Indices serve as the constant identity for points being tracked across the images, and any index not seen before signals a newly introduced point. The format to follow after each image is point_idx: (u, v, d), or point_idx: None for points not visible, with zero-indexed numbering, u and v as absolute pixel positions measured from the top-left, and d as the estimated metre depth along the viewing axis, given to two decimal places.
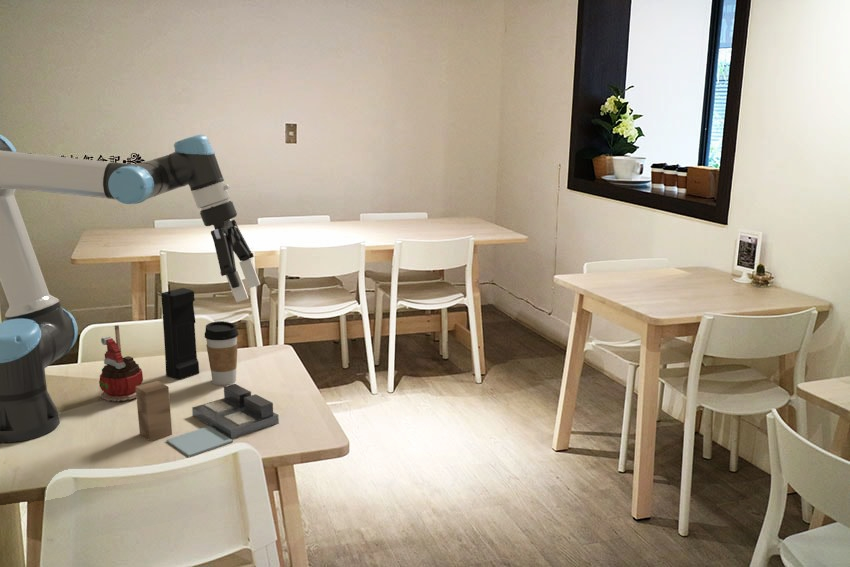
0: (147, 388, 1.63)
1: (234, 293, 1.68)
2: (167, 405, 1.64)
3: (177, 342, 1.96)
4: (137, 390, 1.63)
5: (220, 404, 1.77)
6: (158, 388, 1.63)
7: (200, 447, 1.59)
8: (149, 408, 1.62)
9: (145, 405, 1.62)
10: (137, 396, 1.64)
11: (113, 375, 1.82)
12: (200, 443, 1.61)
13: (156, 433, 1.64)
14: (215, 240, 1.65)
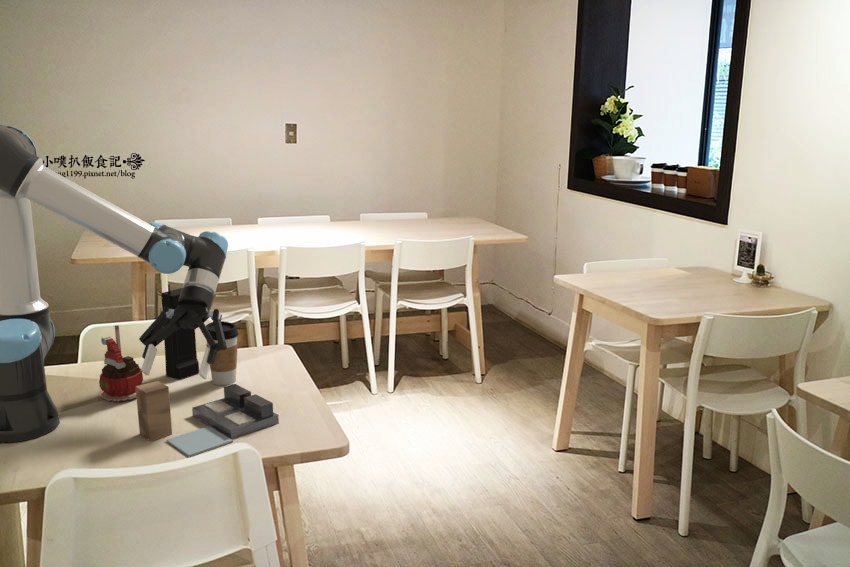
0: (147, 388, 1.63)
1: (204, 366, 1.69)
2: (167, 405, 1.64)
3: (177, 342, 1.96)
4: (137, 390, 1.63)
5: (220, 404, 1.77)
6: (158, 388, 1.63)
7: (200, 447, 1.59)
8: (149, 408, 1.62)
9: (145, 405, 1.62)
10: (137, 396, 1.64)
11: (113, 375, 1.82)
12: (200, 443, 1.61)
13: (156, 433, 1.64)
14: (218, 318, 1.76)
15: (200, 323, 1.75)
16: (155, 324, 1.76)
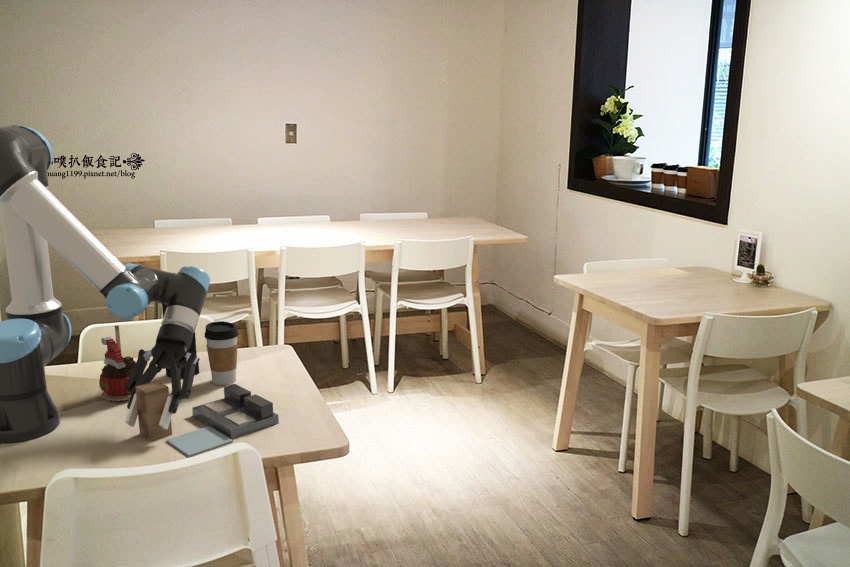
0: (147, 387, 1.63)
1: (165, 416, 1.62)
2: None
3: None
4: (137, 390, 1.63)
5: (220, 404, 1.77)
6: (158, 388, 1.63)
7: (200, 447, 1.59)
8: (149, 408, 1.62)
9: (145, 405, 1.62)
10: (137, 396, 1.64)
11: (113, 375, 1.82)
12: (200, 443, 1.61)
13: (156, 433, 1.64)
14: (192, 363, 1.68)
15: (173, 365, 1.67)
16: (136, 369, 1.68)
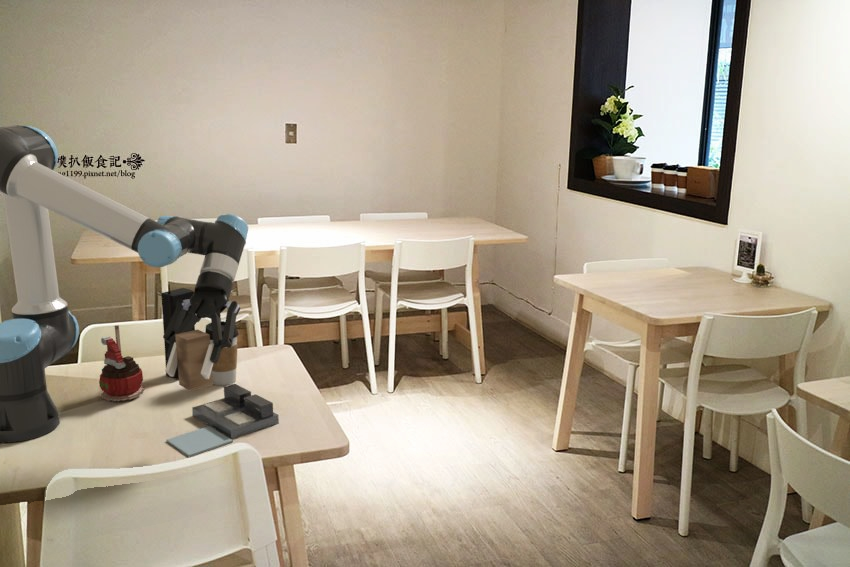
0: (187, 335, 1.56)
1: (207, 365, 1.55)
2: None
3: None
4: (177, 338, 1.57)
5: (220, 404, 1.77)
6: (199, 336, 1.56)
7: (200, 447, 1.59)
8: (190, 356, 1.55)
9: (186, 353, 1.55)
10: (177, 344, 1.57)
11: (113, 375, 1.82)
12: (200, 443, 1.61)
13: (197, 383, 1.57)
14: (233, 311, 1.61)
15: (213, 314, 1.61)
16: (175, 318, 1.62)
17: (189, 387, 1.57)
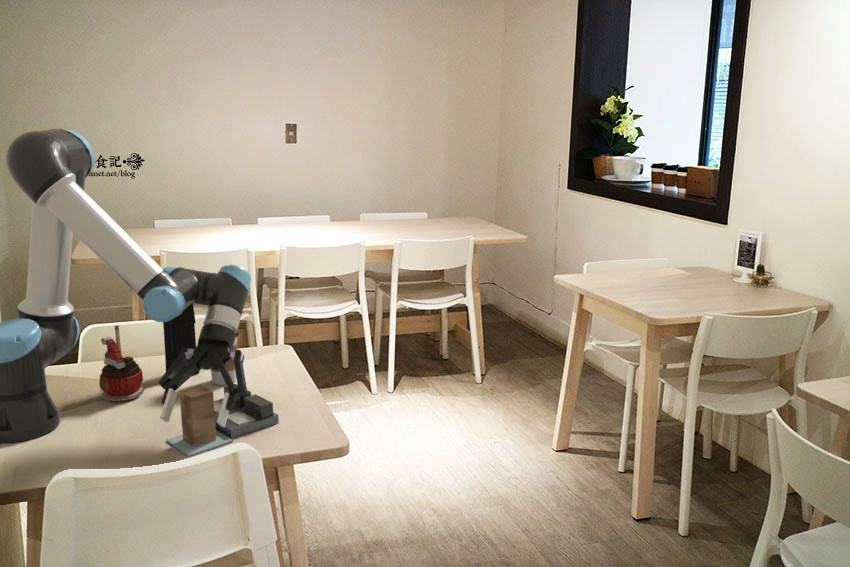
0: (191, 392, 1.59)
1: (223, 413, 1.58)
2: (211, 410, 1.61)
3: (177, 342, 1.96)
4: (181, 395, 1.60)
5: (220, 404, 1.77)
6: (203, 393, 1.59)
7: (200, 447, 1.59)
8: (194, 413, 1.58)
9: (190, 410, 1.58)
10: (181, 401, 1.60)
11: (113, 375, 1.82)
12: None
13: (201, 438, 1.60)
14: (239, 359, 1.65)
15: (221, 364, 1.63)
16: (174, 366, 1.65)
17: (193, 443, 1.60)
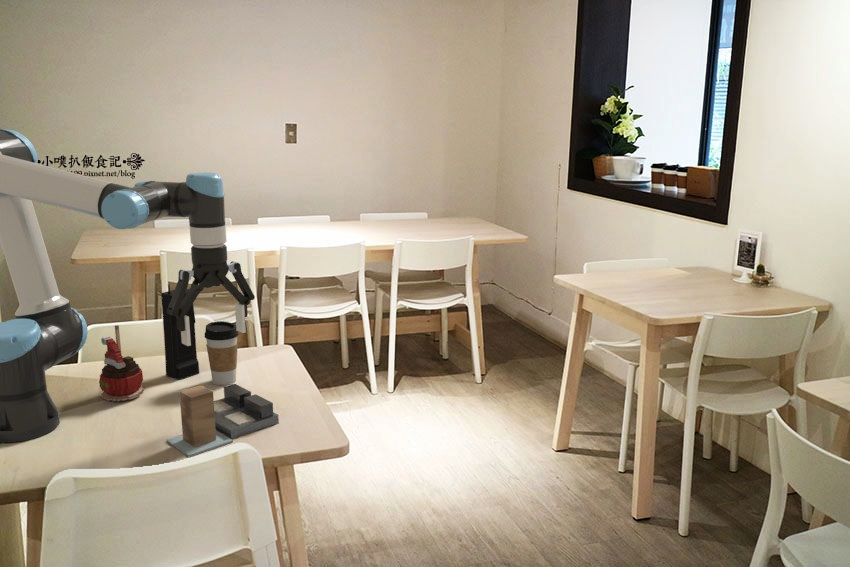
0: (191, 392, 1.59)
1: None
2: (211, 410, 1.61)
3: (177, 342, 1.96)
4: (181, 395, 1.60)
5: (220, 404, 1.77)
6: (203, 393, 1.59)
7: (200, 447, 1.59)
8: (194, 413, 1.58)
9: (190, 410, 1.58)
10: (181, 401, 1.60)
11: (113, 375, 1.82)
12: None
13: (201, 438, 1.60)
14: None
15: (229, 283, 1.70)
16: (183, 294, 1.63)
17: (193, 443, 1.60)
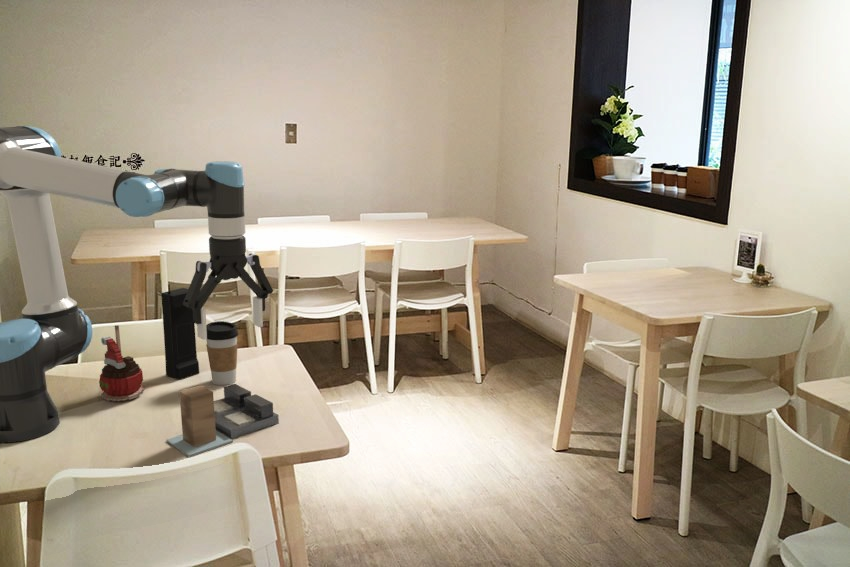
0: (191, 392, 1.59)
1: None
2: (211, 410, 1.61)
3: (177, 342, 1.96)
4: (181, 395, 1.60)
5: (220, 404, 1.77)
6: (203, 393, 1.59)
7: (200, 447, 1.59)
8: (194, 413, 1.58)
9: (190, 410, 1.58)
10: (181, 401, 1.60)
11: (113, 375, 1.82)
12: None
13: (201, 438, 1.60)
14: None
15: (247, 275, 1.65)
16: (200, 286, 1.59)
17: (193, 443, 1.60)
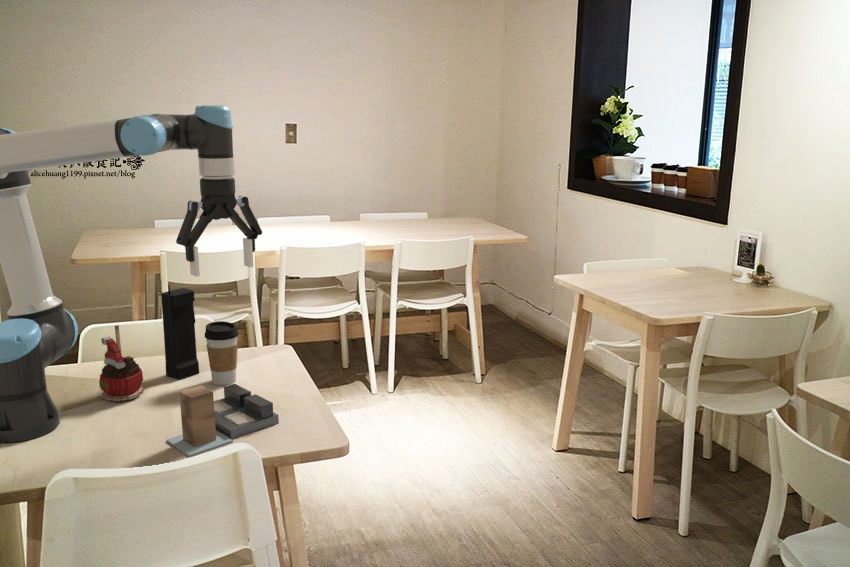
0: (191, 392, 1.59)
1: None
2: (211, 410, 1.61)
3: (177, 342, 1.96)
4: (181, 395, 1.60)
5: (220, 404, 1.77)
6: (203, 393, 1.59)
7: (200, 447, 1.59)
8: (194, 413, 1.58)
9: (190, 410, 1.58)
10: (181, 401, 1.60)
11: (113, 375, 1.82)
12: None
13: (201, 438, 1.60)
14: None
15: (237, 216, 1.73)
16: (192, 224, 1.66)
17: (193, 443, 1.60)
